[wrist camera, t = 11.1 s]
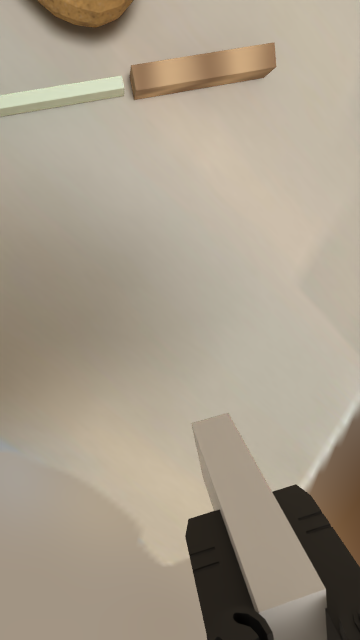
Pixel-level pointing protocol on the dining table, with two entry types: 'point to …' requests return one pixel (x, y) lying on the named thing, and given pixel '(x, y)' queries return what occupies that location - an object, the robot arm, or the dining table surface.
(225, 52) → the channel
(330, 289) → the dining table surface
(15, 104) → the frame
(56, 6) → the potato
